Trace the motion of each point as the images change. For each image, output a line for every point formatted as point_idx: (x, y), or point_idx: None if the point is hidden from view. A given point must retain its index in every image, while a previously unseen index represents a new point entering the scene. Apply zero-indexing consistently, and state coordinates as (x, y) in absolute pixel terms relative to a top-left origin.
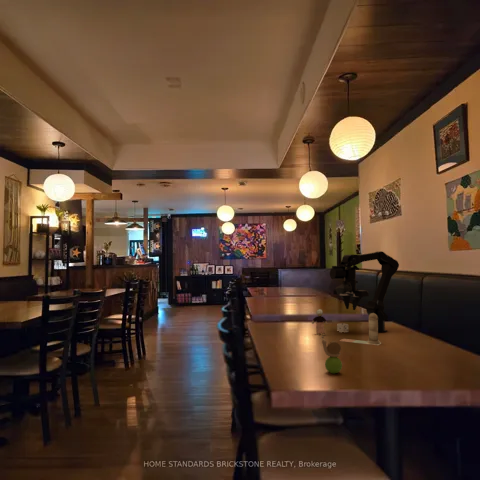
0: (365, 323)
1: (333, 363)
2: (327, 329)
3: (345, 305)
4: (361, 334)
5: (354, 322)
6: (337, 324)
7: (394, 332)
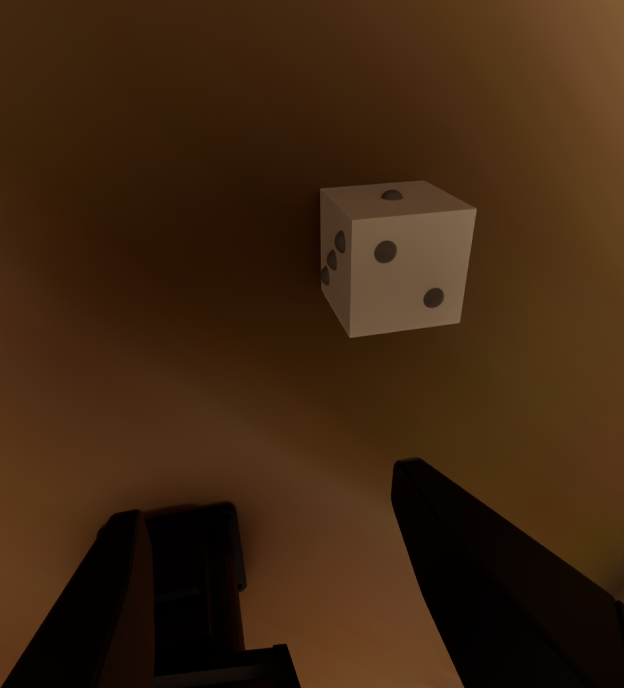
0: None
1: None
2: (588, 164)
3: (492, 525)
4: (94, 315)
5: None
6: (463, 206)
7: None
